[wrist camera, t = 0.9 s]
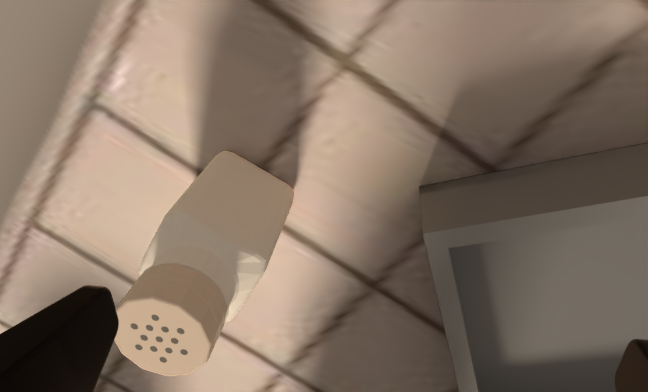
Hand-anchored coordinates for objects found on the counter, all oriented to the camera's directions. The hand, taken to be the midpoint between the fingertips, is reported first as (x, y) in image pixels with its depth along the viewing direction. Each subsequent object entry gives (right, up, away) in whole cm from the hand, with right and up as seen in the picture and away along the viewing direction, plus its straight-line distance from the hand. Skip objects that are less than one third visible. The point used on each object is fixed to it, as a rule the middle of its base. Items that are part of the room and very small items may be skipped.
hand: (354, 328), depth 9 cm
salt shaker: (-4, +2, +15) cm, 16 cm away
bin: (+12, -2, +15) cm, 19 cm away
